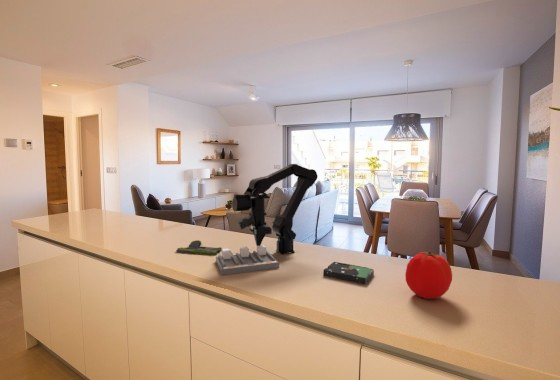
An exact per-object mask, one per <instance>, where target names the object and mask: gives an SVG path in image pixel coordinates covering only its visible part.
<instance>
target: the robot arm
mask: <svg viewBox="0 0 560 380" xmlns="http://www.w3.org/2000/svg"><path fill="white" fill-rule="evenodd" d="M292 175H294V176H295V177H297V179H296V187H295V189H294V191H293V193H292V195H291V197H290V198H289V201H288V203H287V204H286V206H285V207H284V208H285V209H284V210H283V212H282V214H281V215H278V214H276V215H275V218H274V220H273V221H272V223H271V224H272V226H271V227H270V226H269V225H267V222H266V216H267V212H266V205H265V204H266V201H265V200H266V199H270V195H268V194H267V191H268V190H269V189H271V187H272V186H273V185H275V184H276V183H279V182H280V181H282V180H284V179H286V178H288V177H290V176H292ZM318 176H319V175H318V173H317V171H316V170H315V169H311V168H310V169H309V168H307V167H304V166H302V165H299V164H297V163H289V164H288V165H287V166H284V167H282V168H280V169H278V170H277V171H275V172H272V173H270V174H268V175H265V176H260V177H256V178H253V179H251V180H250V181H249V183H248V187H247V189H246V190H245V191H244V193H242V194H241V193H239V194H237V193H236V194H235V193H234V194H233V198H232V201H231V207H232V210H233V212H234V213H235V212H236V213H237V212H246V211H249V212H248V215H247V216H243V217H242V218H239V219H237V220H236V222H237V225H238V228H239V229H240V230H243V229H245V228H249V227H250V228H249V229H248V230H249V231H250V233H252V234H253V237H254V241H255V245H256V247H257V246H259V245H262V243H263V240H264V238H265V236H266V235H271V234H272V233H274V234H275V235H276V237H277V240H276V251H277V252H278V253H279V254H281V255H283V254H285V255H286V254H292V253H295V250H294V240H295V239H296V236H297V233H296V232H294V230H293V229H292V228H293V224H294V223H293V222H294V220H293V219H294V217H295V215H296V212H297V211H298V209H299V207H300V205H301V203H302V201H303V199H304V197H305V195H306V193H307V191H308V190H309V189H310V188H311V187H312V186H314V183H316V181H317V179H318ZM272 231H273V232H272Z"/></svg>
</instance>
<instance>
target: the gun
mask: <svg viewBox="0 0 560 380" xmlns="http://www.w3.org/2000/svg"><path fill="white" fill-rule="evenodd" d="M201 245H202V241H201V240H193V241H191V242H190V244H189V245H188V247H177V249H176V251H175V252H177V253H181V254H189V255H191V254H192V255H204V256H216V255H218V253H222V249H223V247H221V246H220V247H214V246H213V247H211V246H209V247H208V246H201Z"/></svg>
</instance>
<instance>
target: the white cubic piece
mask: <svg viewBox="0 0 560 380" xmlns="http://www.w3.org/2000/svg"><path fill="white" fill-rule="evenodd" d="M266 250H267V246H266V245H264V244H261V245H259V246H256V252H257V254H258V255H259V256H260V255H266Z"/></svg>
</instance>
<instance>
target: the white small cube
mask: <svg viewBox="0 0 560 380" xmlns="http://www.w3.org/2000/svg"><path fill="white" fill-rule="evenodd" d="M249 252H250V248H249V247H248V246H241V247H239V254H240V256H241V257H249Z"/></svg>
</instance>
